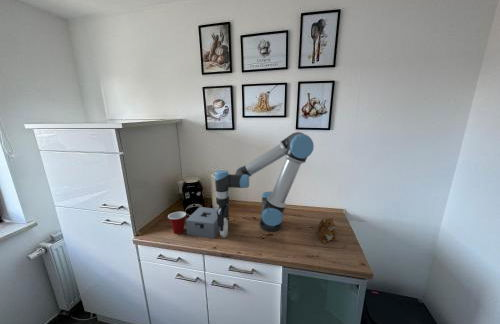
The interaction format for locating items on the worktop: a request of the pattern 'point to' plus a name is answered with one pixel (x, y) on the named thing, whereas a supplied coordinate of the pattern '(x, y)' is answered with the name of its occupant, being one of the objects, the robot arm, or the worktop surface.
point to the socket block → (209, 223)
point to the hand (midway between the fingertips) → (224, 232)
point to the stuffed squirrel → (326, 230)
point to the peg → (225, 228)
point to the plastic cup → (177, 221)
